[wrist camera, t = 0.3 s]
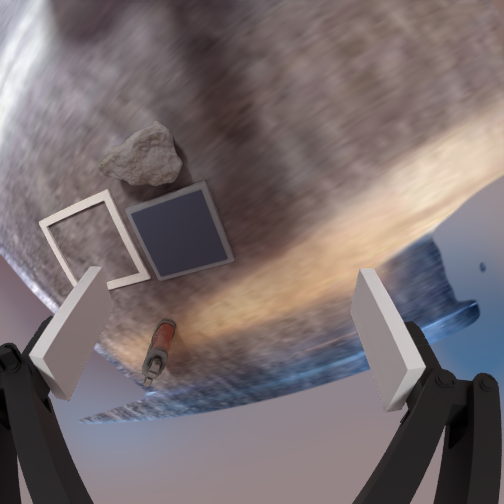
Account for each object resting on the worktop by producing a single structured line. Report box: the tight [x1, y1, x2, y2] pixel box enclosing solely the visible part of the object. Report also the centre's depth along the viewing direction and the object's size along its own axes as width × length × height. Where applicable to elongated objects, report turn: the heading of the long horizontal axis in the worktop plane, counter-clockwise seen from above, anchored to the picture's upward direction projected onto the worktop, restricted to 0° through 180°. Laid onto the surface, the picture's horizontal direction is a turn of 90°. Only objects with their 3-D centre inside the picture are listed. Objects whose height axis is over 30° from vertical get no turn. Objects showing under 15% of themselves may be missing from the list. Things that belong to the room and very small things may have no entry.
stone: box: [99, 121, 183, 186], centre depth 35 cm, size 10×8×6 cm
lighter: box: [142, 319, 176, 387], centre depth 48 cm, size 8×3×10 cm, turn 151°
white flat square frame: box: [39, 189, 151, 290], centre depth 44 cm, size 15×15×1 cm
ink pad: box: [125, 180, 235, 281], centre depth 42 cm, size 12×12×1 cm
